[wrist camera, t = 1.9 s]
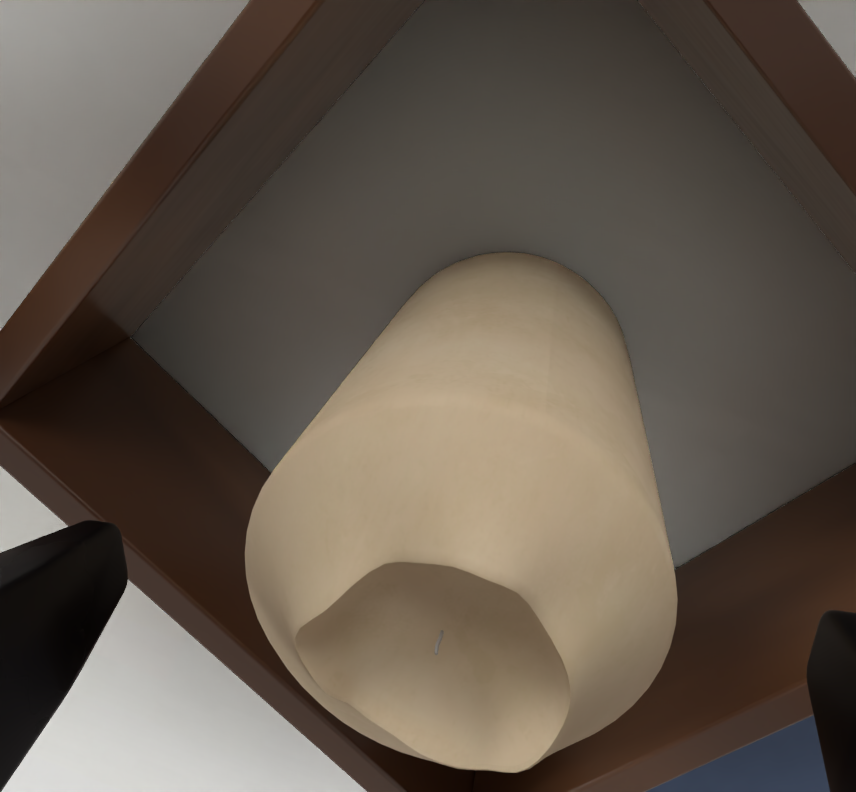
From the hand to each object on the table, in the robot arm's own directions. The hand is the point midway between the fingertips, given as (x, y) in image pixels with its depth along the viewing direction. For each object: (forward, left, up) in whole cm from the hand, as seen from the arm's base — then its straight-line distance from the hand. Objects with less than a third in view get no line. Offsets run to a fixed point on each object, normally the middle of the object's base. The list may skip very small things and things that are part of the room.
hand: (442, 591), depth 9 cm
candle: (0, 0, -9) cm, 9 cm away
